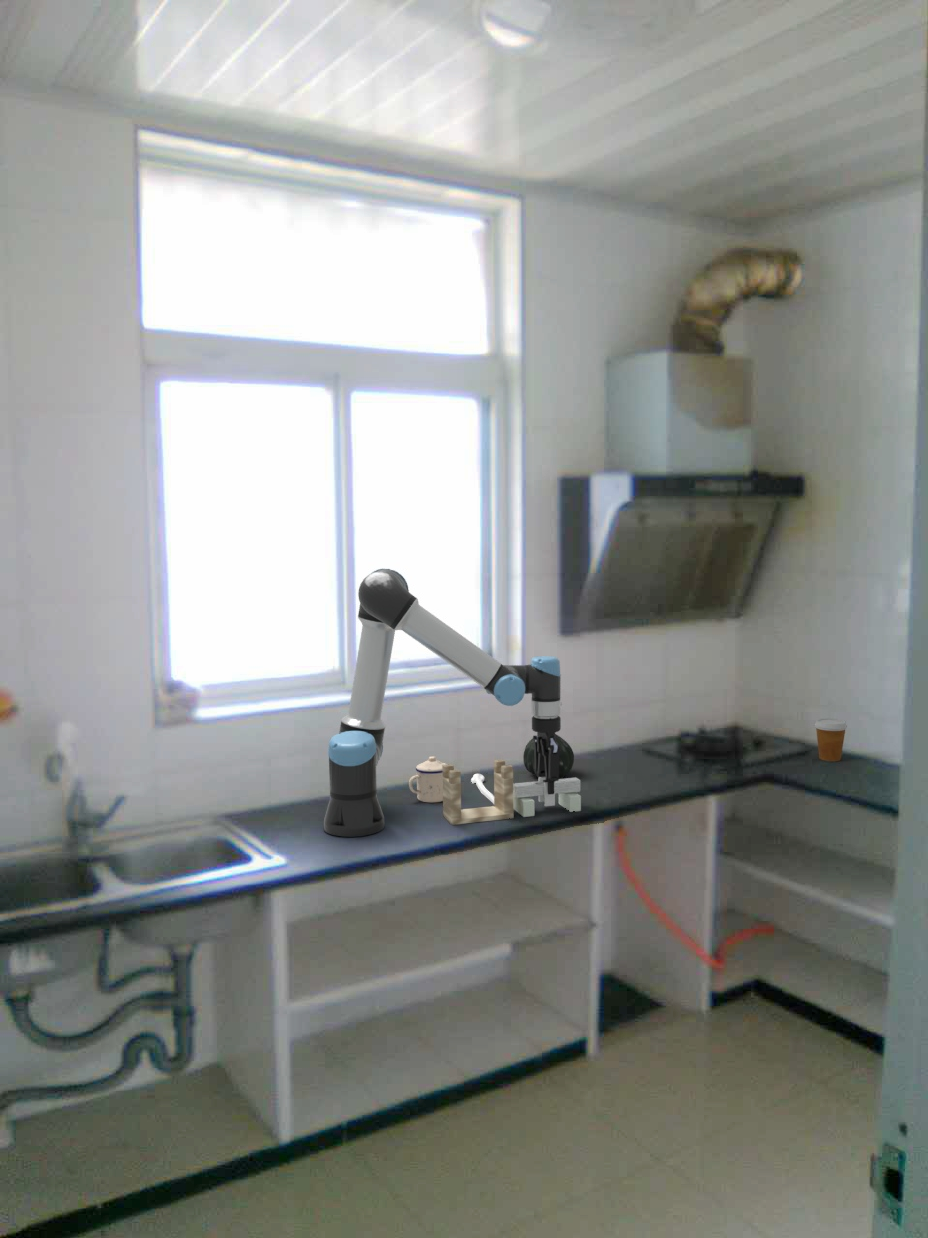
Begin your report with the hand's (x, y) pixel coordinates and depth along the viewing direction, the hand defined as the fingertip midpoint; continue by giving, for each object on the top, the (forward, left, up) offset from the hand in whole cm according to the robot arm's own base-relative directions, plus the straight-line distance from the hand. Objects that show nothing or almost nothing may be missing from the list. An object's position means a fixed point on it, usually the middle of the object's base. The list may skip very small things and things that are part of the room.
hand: (546, 803), depth 261 cm
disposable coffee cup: (+103, +20, -2) cm, 105 cm away
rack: (-19, 0, -2) cm, 19 cm away
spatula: (-9, +20, -2) cm, 22 cm away
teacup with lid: (-27, +20, -2) cm, 34 cm away
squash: (+13, +31, -2) cm, 34 cm away
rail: (0, 0, +3) cm, 3 cm away
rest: (0, 0, -2) cm, 2 cm away
